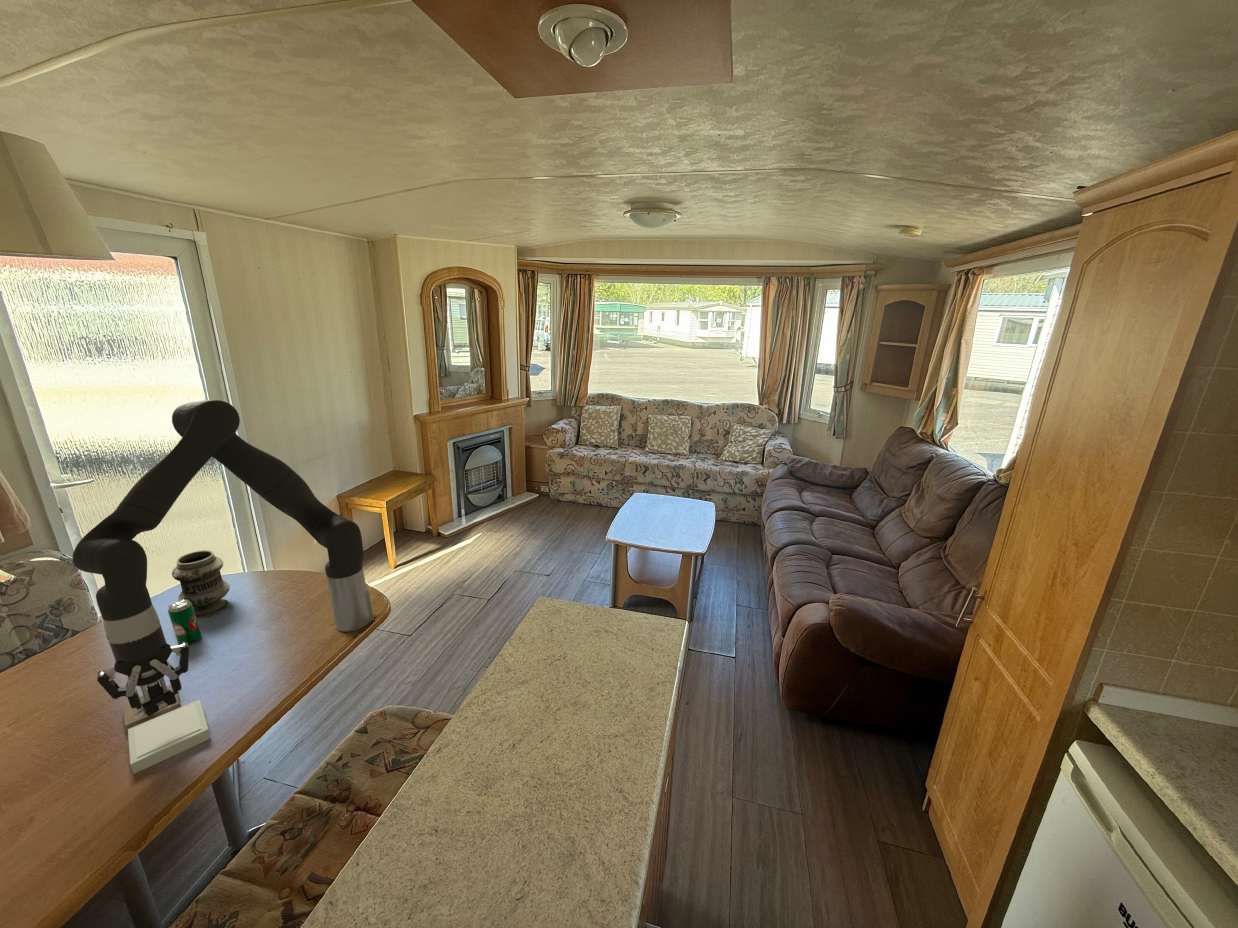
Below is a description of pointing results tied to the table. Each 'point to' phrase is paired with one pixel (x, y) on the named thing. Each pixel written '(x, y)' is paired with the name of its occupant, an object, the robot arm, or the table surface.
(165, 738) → the cream tray
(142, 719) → the walnut stand
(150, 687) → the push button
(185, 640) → the soda can
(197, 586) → the apothecary jar
